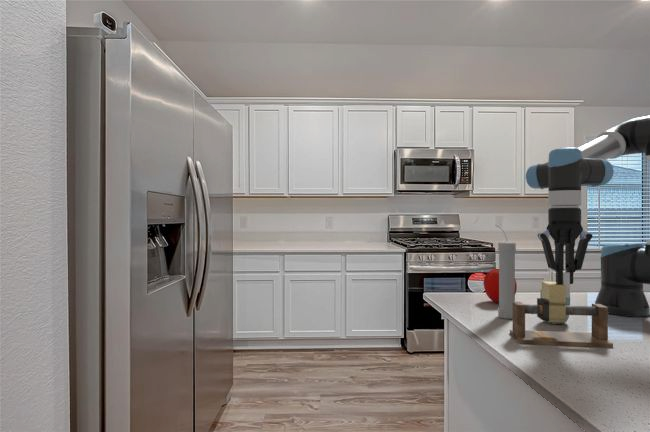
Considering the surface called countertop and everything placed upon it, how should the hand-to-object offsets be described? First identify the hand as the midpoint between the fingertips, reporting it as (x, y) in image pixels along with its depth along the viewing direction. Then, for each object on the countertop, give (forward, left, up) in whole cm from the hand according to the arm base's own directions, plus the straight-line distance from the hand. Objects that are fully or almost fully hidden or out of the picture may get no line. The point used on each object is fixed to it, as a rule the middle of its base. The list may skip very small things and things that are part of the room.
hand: (564, 296), depth 108 cm
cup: (-5, -18, -12) cm, 22 cm away
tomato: (+4, -45, -12) cm, 47 cm away
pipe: (+8, -23, -12) cm, 27 cm away
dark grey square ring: (+5, 0, -6) cm, 8 cm away
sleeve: (+3, 0, -6) cm, 7 cm away
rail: (+1, 0, -12) cm, 12 cm away
